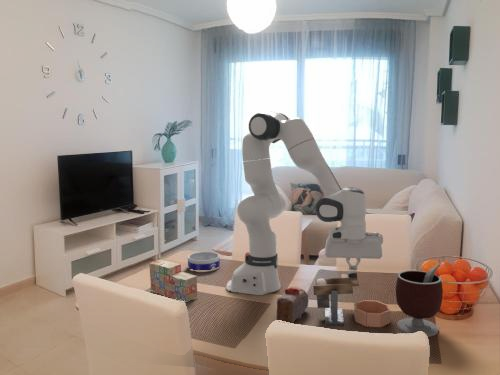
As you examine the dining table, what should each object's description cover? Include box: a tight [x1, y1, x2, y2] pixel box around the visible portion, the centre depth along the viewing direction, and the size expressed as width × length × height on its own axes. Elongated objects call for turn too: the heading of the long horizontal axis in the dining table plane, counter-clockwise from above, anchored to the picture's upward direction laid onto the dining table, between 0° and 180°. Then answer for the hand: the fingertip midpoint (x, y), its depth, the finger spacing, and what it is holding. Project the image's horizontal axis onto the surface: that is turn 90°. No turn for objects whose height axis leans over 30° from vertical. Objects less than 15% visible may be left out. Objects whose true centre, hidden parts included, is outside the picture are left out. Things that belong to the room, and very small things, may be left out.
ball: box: [316, 277, 327, 285], centre depth 144 cm, size 4×4×4 cm
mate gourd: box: [395, 263, 444, 338], centre depth 135 cm, size 16×14×20 cm
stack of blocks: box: [149, 259, 198, 302], centre depth 168 cm, size 21×6×12 cm, turn 51°
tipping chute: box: [312, 270, 360, 309], centre depth 149 cm, size 15×18×8 cm
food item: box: [276, 286, 309, 323], centre depth 146 cm, size 14×8×10 cm, turn 153°
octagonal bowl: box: [353, 299, 391, 328], centre depth 142 cm, size 11×11×4 cm
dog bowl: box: [187, 251, 221, 270], centre depth 202 cm, size 15×15×6 cm
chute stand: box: [324, 289, 345, 326], centre depth 144 cm, size 6×11×11 cm, turn 170°
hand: (353, 269), depth 154 cm, fingers closed
